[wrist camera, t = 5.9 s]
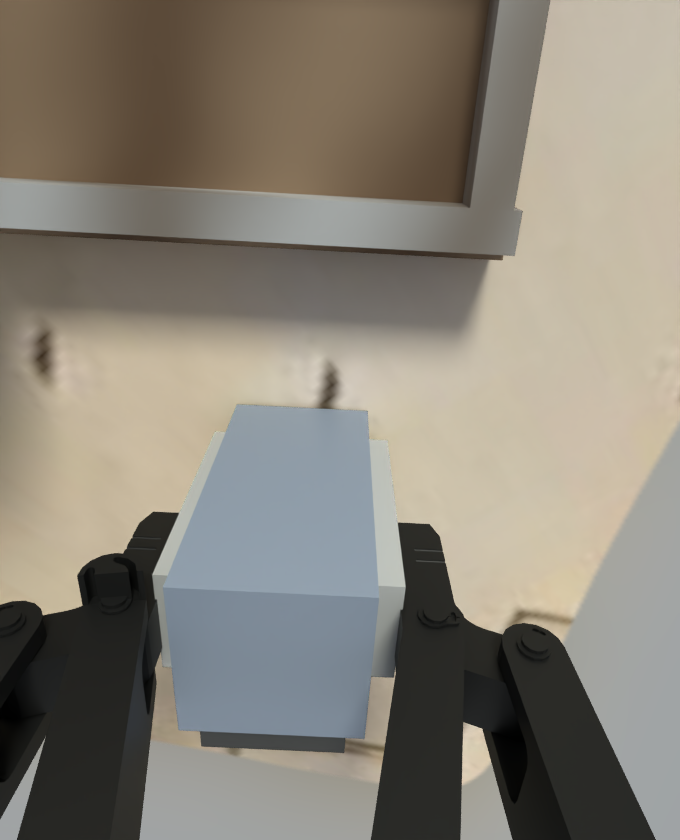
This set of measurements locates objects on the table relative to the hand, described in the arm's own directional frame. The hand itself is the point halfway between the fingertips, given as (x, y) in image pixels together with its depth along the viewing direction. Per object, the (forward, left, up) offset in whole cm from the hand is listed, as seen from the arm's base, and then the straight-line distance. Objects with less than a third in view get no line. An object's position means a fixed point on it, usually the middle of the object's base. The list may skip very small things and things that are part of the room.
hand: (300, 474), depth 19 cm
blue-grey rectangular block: (0, 0, 0) cm, 0 cm away
